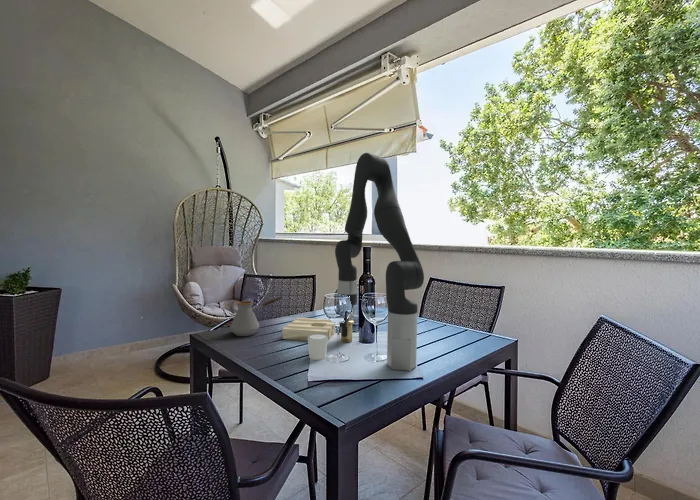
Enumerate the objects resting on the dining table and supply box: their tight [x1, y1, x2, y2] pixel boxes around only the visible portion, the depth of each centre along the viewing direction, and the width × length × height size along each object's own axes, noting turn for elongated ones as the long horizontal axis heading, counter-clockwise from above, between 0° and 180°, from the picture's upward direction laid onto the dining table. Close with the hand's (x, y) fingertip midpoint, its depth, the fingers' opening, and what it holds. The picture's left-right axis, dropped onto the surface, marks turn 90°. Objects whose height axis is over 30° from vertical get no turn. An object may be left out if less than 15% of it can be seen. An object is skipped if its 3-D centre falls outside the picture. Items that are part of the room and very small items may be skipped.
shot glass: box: [307, 334, 329, 361], centre depth 117 cm, size 7×7×7 cm
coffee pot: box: [229, 296, 284, 337], centre depth 144 cm, size 21×12×15 cm, turn 100°
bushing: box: [340, 318, 355, 344], centre depth 135 cm, size 6×6×8 cm
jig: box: [282, 317, 336, 342], centre depth 144 cm, size 18×18×4 cm
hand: (346, 333), depth 135 cm, fingers open, 8 cm apart
